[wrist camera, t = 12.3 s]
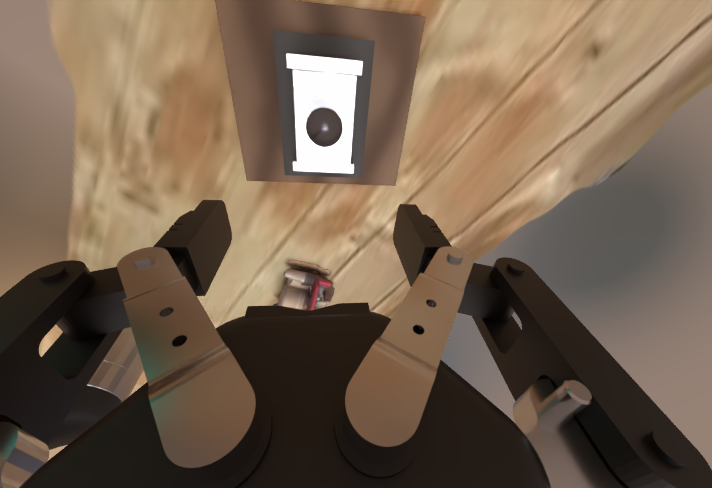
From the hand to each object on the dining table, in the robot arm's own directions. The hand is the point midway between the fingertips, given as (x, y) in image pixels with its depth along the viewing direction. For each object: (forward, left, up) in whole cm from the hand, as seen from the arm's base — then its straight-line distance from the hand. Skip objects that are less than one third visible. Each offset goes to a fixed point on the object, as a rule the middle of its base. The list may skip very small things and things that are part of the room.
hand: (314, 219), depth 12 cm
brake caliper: (-3, -28, -25) cm, 38 cm away
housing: (+1, +1, -19) cm, 19 cm away
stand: (+1, +1, -24) cm, 24 cm away
